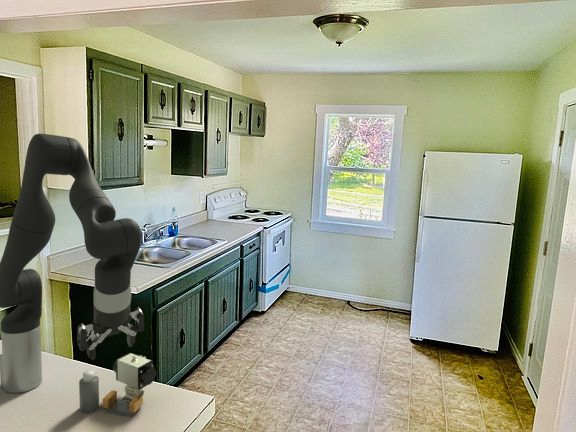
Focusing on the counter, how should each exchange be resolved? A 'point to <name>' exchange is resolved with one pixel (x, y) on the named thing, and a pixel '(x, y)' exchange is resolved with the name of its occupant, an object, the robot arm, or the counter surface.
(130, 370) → the pneumatic valve
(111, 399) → the clip bracket
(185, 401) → the counter surface
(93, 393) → the bottle
